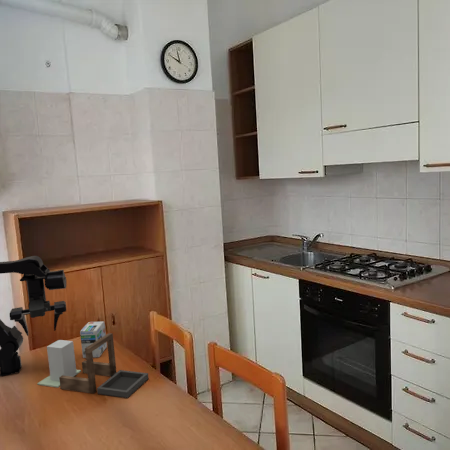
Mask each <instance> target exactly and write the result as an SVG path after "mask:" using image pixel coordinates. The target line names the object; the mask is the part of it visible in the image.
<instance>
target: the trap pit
mask: <svg viewBox="0 0 450 450" xmlns="http://www.w3.org/2000/svg"><path fill="white" fill-rule="evenodd" d="M116 372H117V373H116V374H114V375H113V376H112V377H109V378H108V379H107V380H105V381H104V382H103V383H102V384H100V385H99V386H98V387H96V393H97V395H99V396H100V395H101V396H107V397H108V396H109V397H115V398H122V399H123V398H124V399H129V398H130V397H131V396H132V395H133V394H134V393H135V392H136V391H137V390H139V388H141V387H142V386H143V385H144V384H145V383H146V382H147V381H148V380H149V379H150V377H149V373H147V372H140V371H133V370H132V371H131V370H124V369H123V370H122V369H119V370H118V371H116Z"/></svg>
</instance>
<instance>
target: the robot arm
mask: <svg viewBox="0 0 450 450" xmlns="http://www.w3.org/2000/svg"><path fill="white" fill-rule="evenodd" d="M12 273H14V274H19V275H20V274H21V275H23V276H22V277H21V278H20V279H19V281H20V282H26V289H27V297H28V306H27V307H28V308H26V309H24V308H23V306H20V307H15V308H12V309H11V310H10V311H9V319H10V321H14V322H18V323H19V324H20V326H21V327H22V329H23V331H24V332H25V335H26V336H27V337H28V336H29V329H28V324H27V320H26V316H27V315H29V316H30V317H29V318H32V319H34V318H38V317H45V315H46V312H47V313H48V312H52V311H54V313H53V331H54V332H56V330H57V325H58V320H59V318H60V316H61V315H63V314H64V313H65V312H67V303H66V302H67V301H65V300H61V301H54V303H53V304H51V302H50V300H47V297H46V296H47V295H46V289H47V290H48V291H55V290H64V289H67V276H66V274H65V272H64V269H59V270H50V269H49V268H48V267H47V266H46V265H45V264H44V262H43V260H42V257H39V256H38V255H32V256H27V257H24V258H19V259H17V260H10V261H0V274H1V275H2V274H12ZM22 334H23V332H21V331H20V330H19V329H18V328H17V326H16V325H13V326H12V327H10V326H8V325H6V324H5V323H4V322H3V321H2V319H0V377H5V376H9V375H14V374H19V373H20V372H21V370H22V366H23V365H22V359H21V355H19V351H18V350H19V349H20V347H21V346H22V344H23V342H24V336H23V335H22Z"/></svg>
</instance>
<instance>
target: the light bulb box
mask: <svg viewBox="0 0 450 450" xmlns="http://www.w3.org/2000/svg"><path fill="white" fill-rule="evenodd" d="M79 335H80V344H81V352H82V358H83V359H86V354H85V348H86V347H88V346H89V345H91V344H93V343H94V342H96V341H97V340H99V339H100V338H102V337H104V336H105V335H107V334H106V324H105V321H89V322H87V323H86V324H85V325H84V326H83V327H82V328H81V330H80V331H79ZM107 348H108V346H107V342H106V343H104V344H103V345H101V346H100V347H98V348H97V349H95V350H94V351H92V354H93V358H100V357H101V356H102V354H103V352H104V351H105V350H106V349H107Z"/></svg>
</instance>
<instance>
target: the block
mask: <svg viewBox="0 0 450 450" xmlns="http://www.w3.org/2000/svg"><path fill="white" fill-rule="evenodd" d="M46 350H47V351H46V352H47V361H48V367H49V368H48V369H49V376H50V377H51V380H53V381H60V379H59V377H61V376H62V375H64V376H71V377H73V376H74V377H76V376H77V375H78V374H77V372H76V370H77V366H76V365H77V363H76V355H75V346H74V341H73V340H66V339H65V340H63V339H58V340H56V341H54V342H52V343H51V344H49V345H47V346H46ZM76 374H77V375H76Z"/></svg>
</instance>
